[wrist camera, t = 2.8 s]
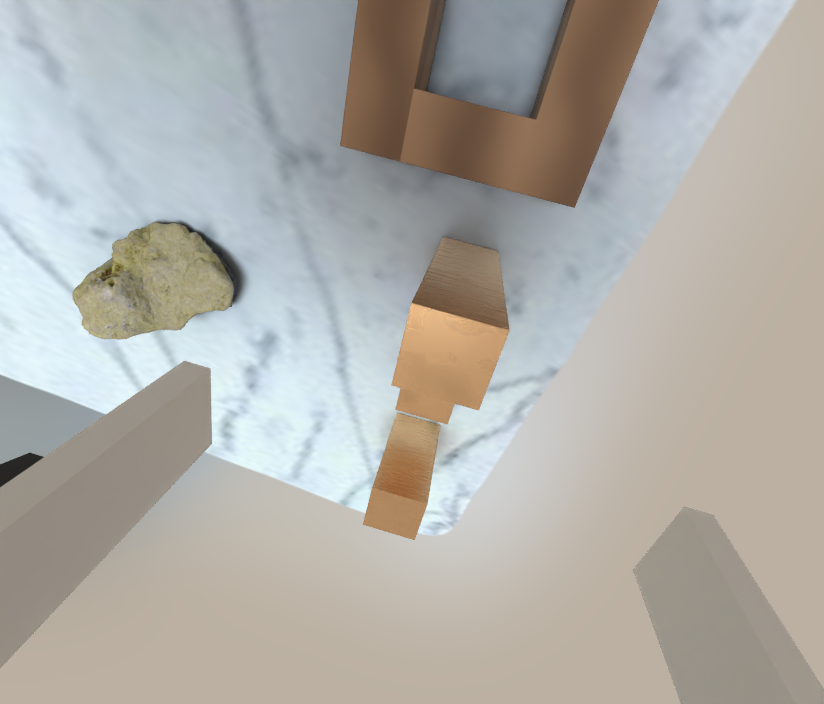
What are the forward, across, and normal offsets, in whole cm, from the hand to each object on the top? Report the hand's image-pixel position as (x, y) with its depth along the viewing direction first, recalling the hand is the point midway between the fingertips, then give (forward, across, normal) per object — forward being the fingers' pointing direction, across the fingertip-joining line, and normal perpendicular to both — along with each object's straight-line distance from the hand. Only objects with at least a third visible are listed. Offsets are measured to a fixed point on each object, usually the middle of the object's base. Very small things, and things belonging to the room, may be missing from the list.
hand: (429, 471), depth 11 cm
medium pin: (+20, 0, -16) cm, 26 cm away
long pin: (+20, 0, 0) cm, 20 cm away
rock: (+21, -23, -7) cm, 32 cm away
